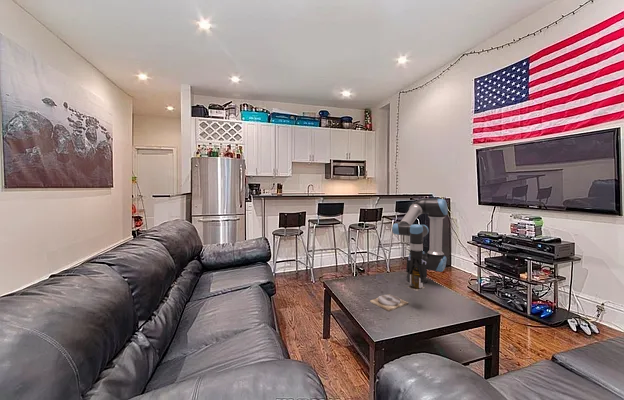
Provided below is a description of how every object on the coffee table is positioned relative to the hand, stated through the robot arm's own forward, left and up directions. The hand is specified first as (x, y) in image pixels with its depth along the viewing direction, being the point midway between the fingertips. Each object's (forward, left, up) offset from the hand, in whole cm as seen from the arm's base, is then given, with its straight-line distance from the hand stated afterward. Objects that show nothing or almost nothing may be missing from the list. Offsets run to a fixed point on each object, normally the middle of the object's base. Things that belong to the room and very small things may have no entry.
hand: (416, 285), depth 177 cm
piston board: (+10, -13, -13) cm, 21 cm away
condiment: (0, 0, -1) cm, 1 cm away
